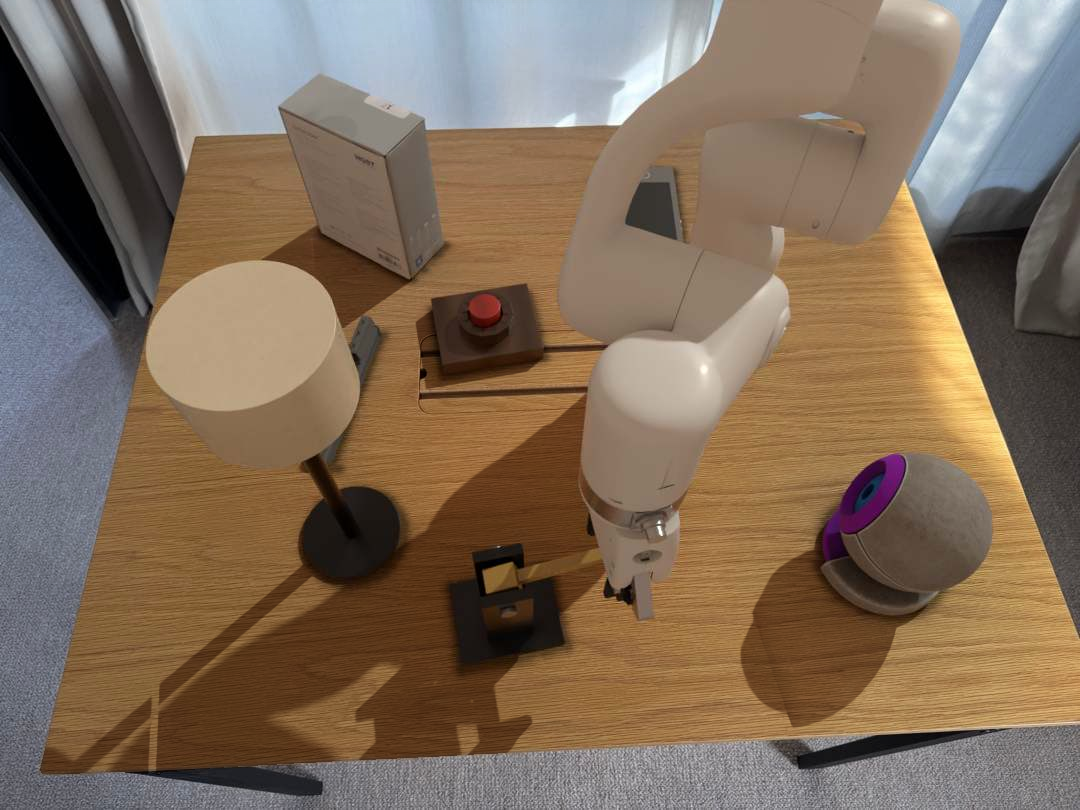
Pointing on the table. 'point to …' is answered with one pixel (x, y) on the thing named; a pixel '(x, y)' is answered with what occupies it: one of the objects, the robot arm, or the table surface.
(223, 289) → the desk lamp
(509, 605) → the switch bracket
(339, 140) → the hard drive box
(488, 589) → the tan handled piece
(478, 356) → the button block
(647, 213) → the smartphone
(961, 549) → the webcam
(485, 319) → the red push button
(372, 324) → the grey long bar
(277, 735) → the table surface
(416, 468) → the table surface
